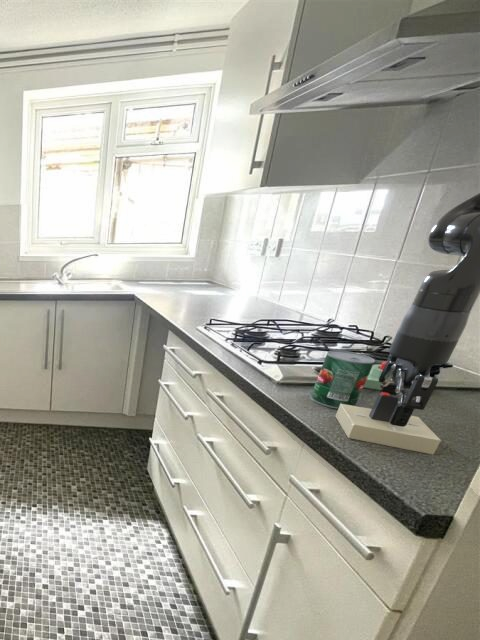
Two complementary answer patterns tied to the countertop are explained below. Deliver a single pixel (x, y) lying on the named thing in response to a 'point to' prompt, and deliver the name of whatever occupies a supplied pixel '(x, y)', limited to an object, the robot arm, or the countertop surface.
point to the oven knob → (384, 406)
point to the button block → (374, 378)
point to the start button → (382, 365)
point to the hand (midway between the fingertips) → (388, 415)
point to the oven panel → (386, 430)
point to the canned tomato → (341, 378)
